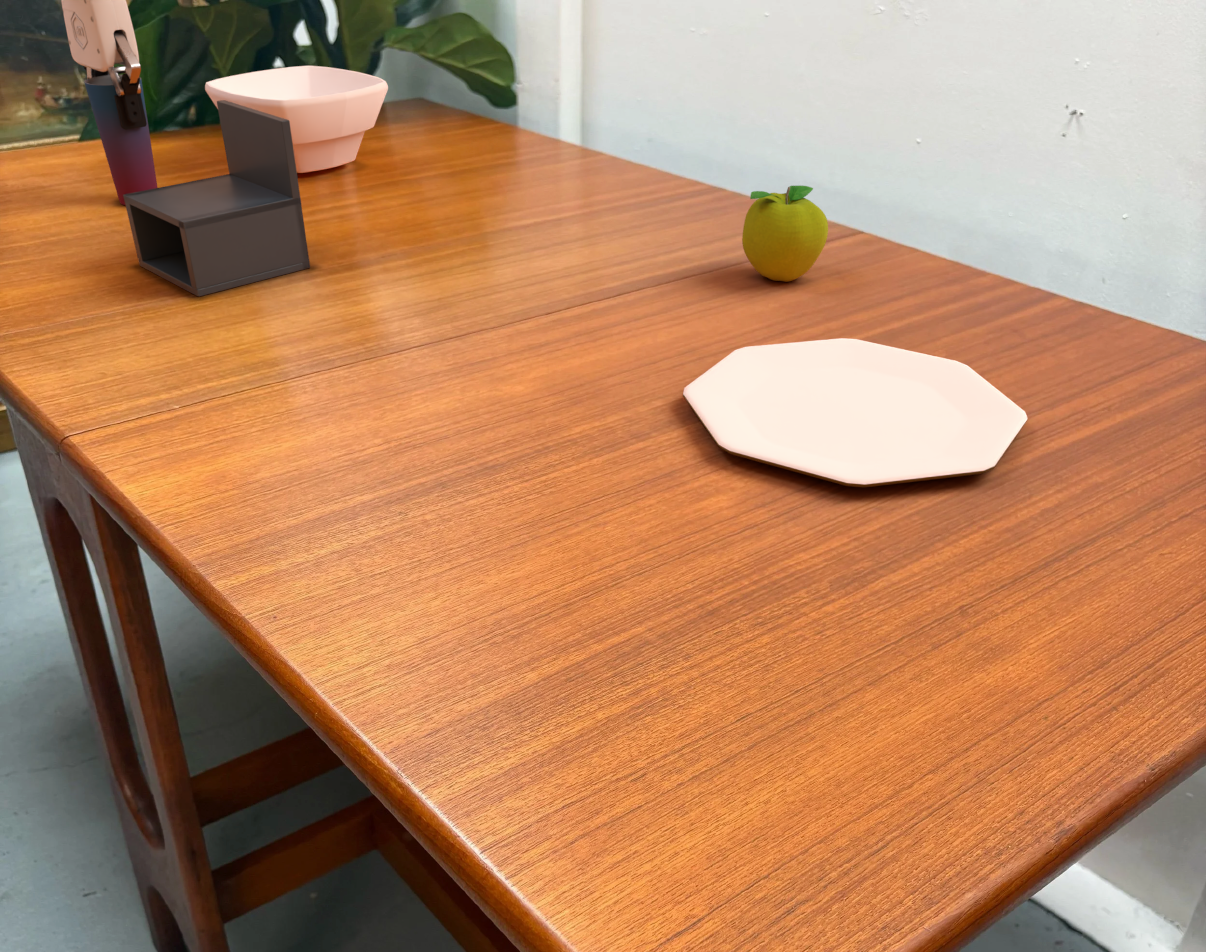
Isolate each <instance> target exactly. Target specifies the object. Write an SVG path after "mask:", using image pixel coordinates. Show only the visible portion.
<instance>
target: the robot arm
mask: <svg viewBox="0 0 1206 952" xmlns="http://www.w3.org/2000/svg"><path fill="white" fill-rule="evenodd" d="M60 2H61V7H62V14H63V19H64V24H65V30H66V35H67V41H68V45H69V49H70V53H71V54H70V55H71V57H72V60H73V61H74V62H76V63H77V64H78V65H80V66H82V68H83V69H84V70H85V72H86V80H87V79H89V78H93V77H98V76H106V75H110V76H111V79H112V82H113V84H114V87H115V90H116V92H117V94H118V95H114V98H115V102H116V107H117V111H118V115H119V120H120V124H121V127H122V128H123V129H125V130H127V129H133V128H139V127H145V126H146V125H147V122H146V117H145V113H144V108H143V103H142V98H141V94H140V93H141V87H140V84H139V82H140V78H141V72H142V67H141V64H140V55H139V49H138V43H137V39H136V33H135V30H134V25H133V22H132V18H131V14H130V11H129V7H128V3H127V0H60ZM115 65H120V66H115ZM118 75H122V79H121V81H120V78H119V76H118ZM139 77H140V78H139Z"/></svg>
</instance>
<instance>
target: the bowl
mask: <svg viewBox="0 0 1206 952" xmlns="http://www.w3.org/2000/svg"><path fill="white" fill-rule="evenodd" d="M204 90H205V92H206V94H207V96H208V97H209V98H210V100H211V101H212V103H213V105H214V106H215V108H216V109H217V110H218V106H217V101H220V100H226V101H229V102H232V103H235V104H239V105H242V106H245V107H248V108H251V109H255V110H258V111H261V112H264V113H268V114H271V115H274V116H277V117H280V118H284V119H287V120H289V122H290V129H291V136H292V143H293V150H294V157H295V164H296V171H297V174H303V173H311V172H317V171H324V170H327V169H333V168H336V167H340V166H343V165H346V164H349V163H353V162H354V161H355V160H356V158H357V155H358V153H359V150H360V146H361V144H362V141H363V138H364V135H365V132H366V131H369V130H370V129H373V128H374V127H375V125H376V122H377V119H378V117H379V114H380V112H381V108H382V106H383V103H384V100H385V98H386V95H387V93H388V90H389V86H388V83H387V81H386V80H384V79H382V78H381V77H379V76H374V75H371V74H368V73H364V72H360V71H354V70H350V69H349V70H348V69H343V68H337V67H330V66H329V67H328V66H320V65H319V66H318V65H299V66H298V65H297V66H288V67H278V68H271V69H264V70H257V71H251V72H245V73H239V74H234V75H230V76H224V77H220V78H216V79H213V80H209V81H206V82H205V85H204Z"/></svg>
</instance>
